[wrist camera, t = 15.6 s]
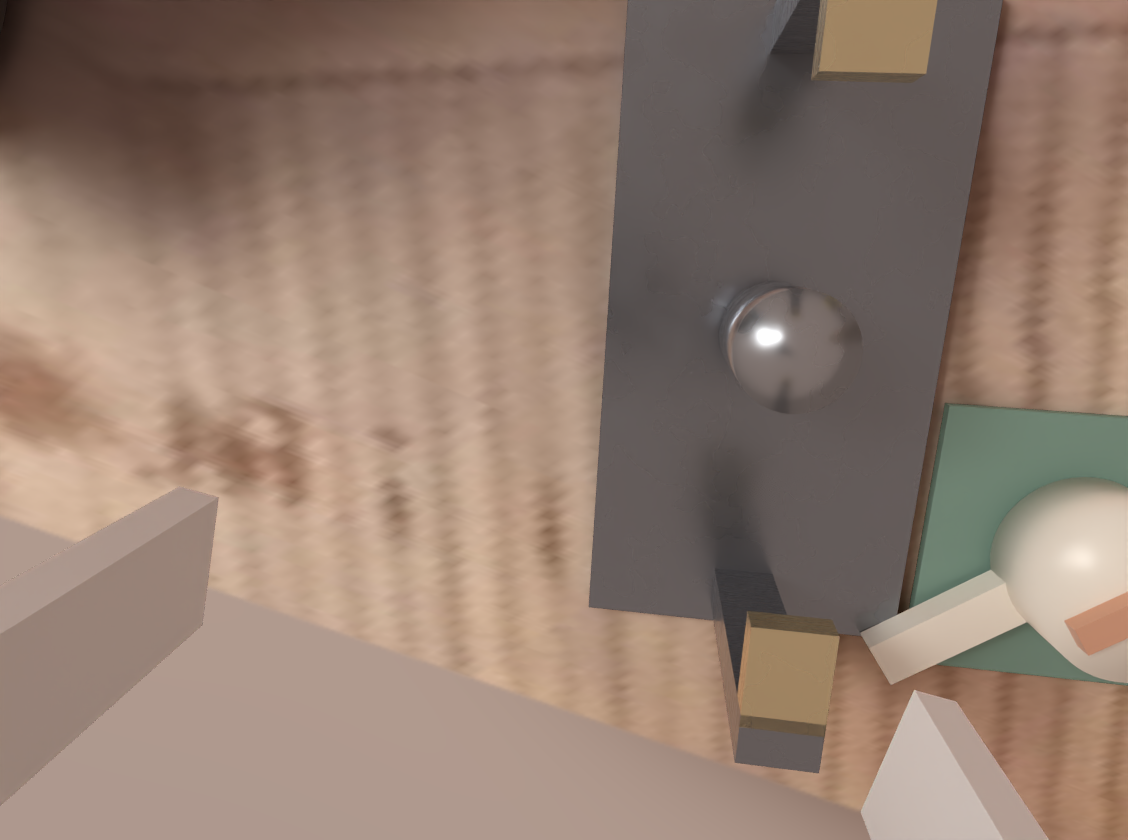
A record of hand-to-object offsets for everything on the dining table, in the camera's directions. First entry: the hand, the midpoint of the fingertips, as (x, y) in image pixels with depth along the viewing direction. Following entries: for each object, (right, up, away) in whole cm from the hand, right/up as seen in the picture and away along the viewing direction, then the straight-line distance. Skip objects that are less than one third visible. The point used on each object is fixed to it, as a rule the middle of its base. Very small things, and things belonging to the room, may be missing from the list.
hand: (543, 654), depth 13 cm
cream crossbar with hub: (+26, -2, +23) cm, 35 cm away
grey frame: (+11, +9, +23) cm, 27 cm away
